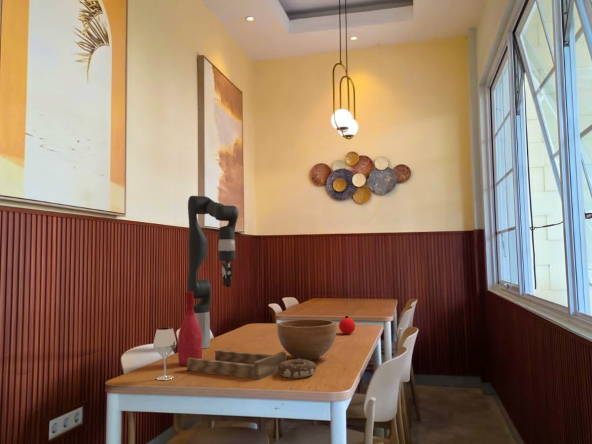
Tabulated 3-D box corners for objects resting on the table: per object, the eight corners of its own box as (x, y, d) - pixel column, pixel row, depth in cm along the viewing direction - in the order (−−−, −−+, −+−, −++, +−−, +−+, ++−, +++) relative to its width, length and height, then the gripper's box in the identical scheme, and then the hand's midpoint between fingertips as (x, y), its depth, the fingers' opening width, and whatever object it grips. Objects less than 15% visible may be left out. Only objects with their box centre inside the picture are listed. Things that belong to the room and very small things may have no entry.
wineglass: (156, 376, 173) (156, 327, 175) (178, 375, 174) (178, 326, 175) (151, 381, 165) (151, 330, 167) (174, 380, 166) (174, 329, 167)
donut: (303, 381, 161) (303, 367, 161) (271, 377, 168) (270, 363, 168) (323, 372, 173) (322, 358, 173) (292, 368, 180) (291, 355, 180)
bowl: (343, 354, 203) (342, 319, 205) (328, 367, 180) (327, 328, 181) (289, 352, 212) (289, 318, 213) (269, 364, 188) (268, 326, 189)
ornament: (356, 335, 252) (355, 316, 253) (339, 335, 253) (339, 317, 253) (354, 332, 261) (353, 314, 262) (338, 333, 261) (338, 315, 262)
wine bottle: (196, 366, 187) (195, 292, 189) (174, 366, 189) (173, 292, 191) (206, 361, 196) (205, 290, 199) (184, 361, 198) (184, 290, 201)
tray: (187, 370, 181) (186, 354, 181) (218, 360, 197) (218, 346, 198) (258, 379, 164) (258, 362, 165) (286, 368, 181) (286, 352, 181)
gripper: (216, 250, 212) (216, 285, 211) (220, 249, 198) (220, 287, 197) (232, 249, 214) (232, 285, 213) (237, 249, 201) (237, 287, 200)
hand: (226, 286), depth 205 cm, fingers open, 8 cm apart
